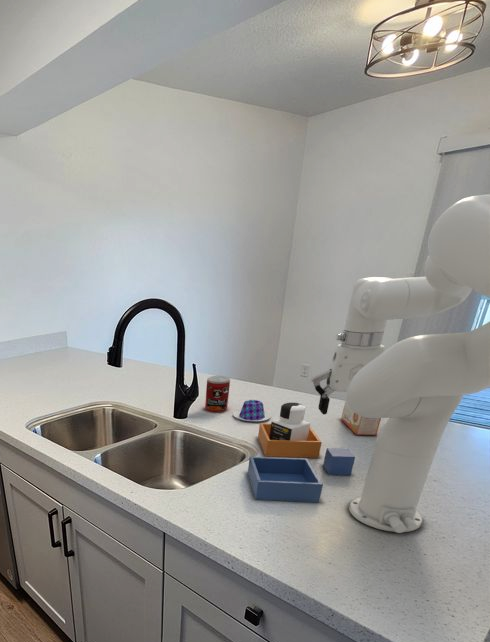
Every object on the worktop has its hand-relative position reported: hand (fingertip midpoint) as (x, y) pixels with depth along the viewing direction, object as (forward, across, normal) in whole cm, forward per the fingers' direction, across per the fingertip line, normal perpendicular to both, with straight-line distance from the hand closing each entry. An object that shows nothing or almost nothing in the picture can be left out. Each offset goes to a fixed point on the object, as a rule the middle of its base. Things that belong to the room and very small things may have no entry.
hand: (344, 412), depth 103 cm
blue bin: (+15, -14, -11) cm, 23 cm away
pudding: (+15, -14, +38) cm, 43 cm away
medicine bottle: (+14, -8, +13) cm, 21 cm away
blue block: (+15, +1, -1) cm, 15 cm away
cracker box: (+15, +16, +30) cm, 37 cm away
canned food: (+15, -25, +46) cm, 55 cm away
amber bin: (+15, -8, +13) cm, 21 cm away
